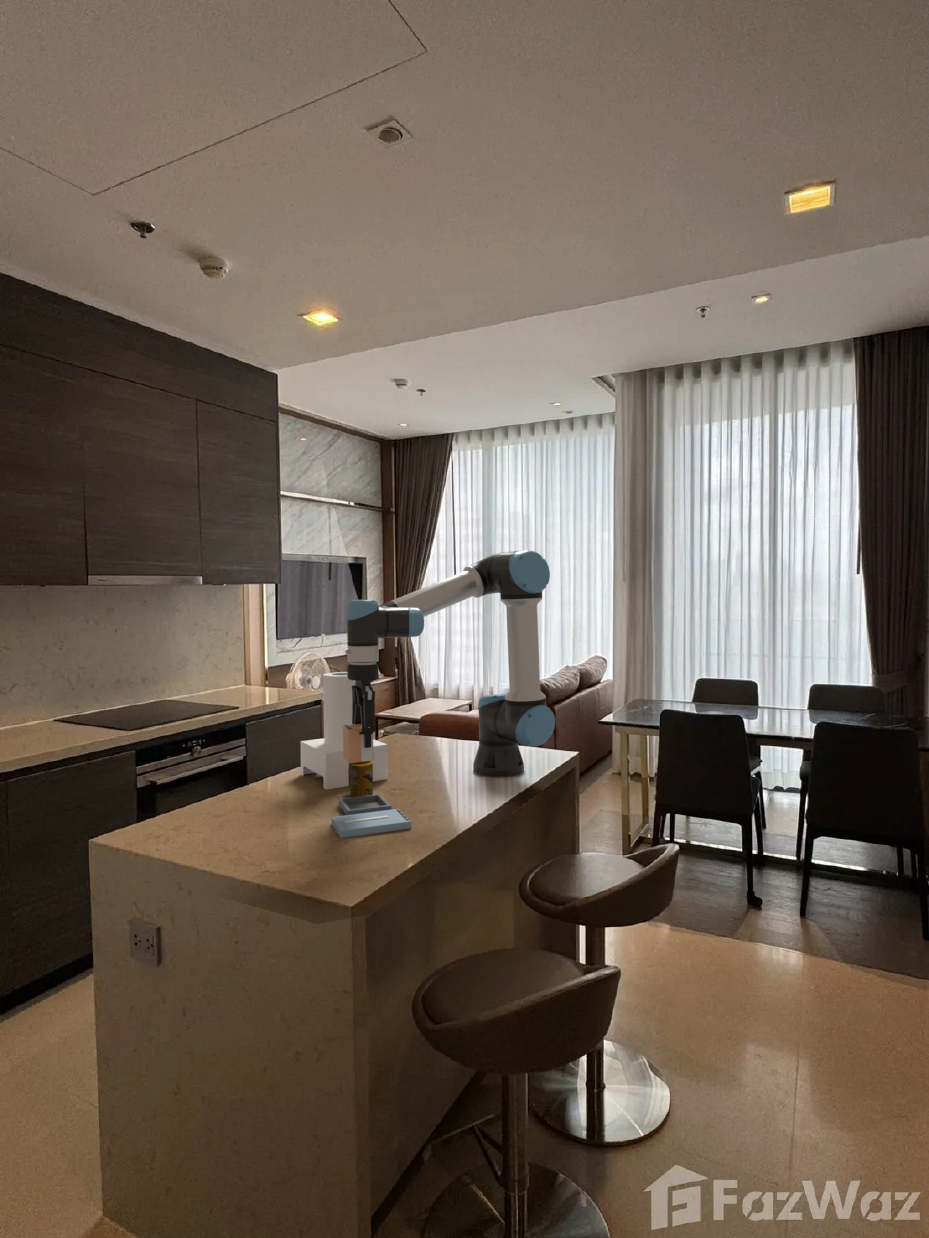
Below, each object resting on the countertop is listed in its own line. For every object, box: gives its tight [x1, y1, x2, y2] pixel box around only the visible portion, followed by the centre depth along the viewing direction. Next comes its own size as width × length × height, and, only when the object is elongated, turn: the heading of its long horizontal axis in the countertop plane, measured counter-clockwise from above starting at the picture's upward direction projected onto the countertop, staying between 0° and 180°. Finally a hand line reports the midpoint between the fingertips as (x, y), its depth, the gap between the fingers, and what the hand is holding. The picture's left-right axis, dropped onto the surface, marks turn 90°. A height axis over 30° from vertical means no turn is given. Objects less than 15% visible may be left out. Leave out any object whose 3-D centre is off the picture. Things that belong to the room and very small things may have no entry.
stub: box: [343, 724, 374, 763], centre depth 167 cm, size 6×6×8 cm
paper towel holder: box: [300, 671, 389, 791], centre depth 199 cm, size 19×19×30 cm
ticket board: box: [330, 808, 412, 839], centre depth 157 cm, size 16×10×2 cm, turn 112°
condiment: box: [337, 761, 374, 799], centre depth 179 cm, size 7×8×12 cm
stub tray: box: [338, 793, 392, 816], centre depth 168 cm, size 11×11×2 cm
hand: (363, 757), depth 168 cm, fingers closed on stub, 6 cm apart
